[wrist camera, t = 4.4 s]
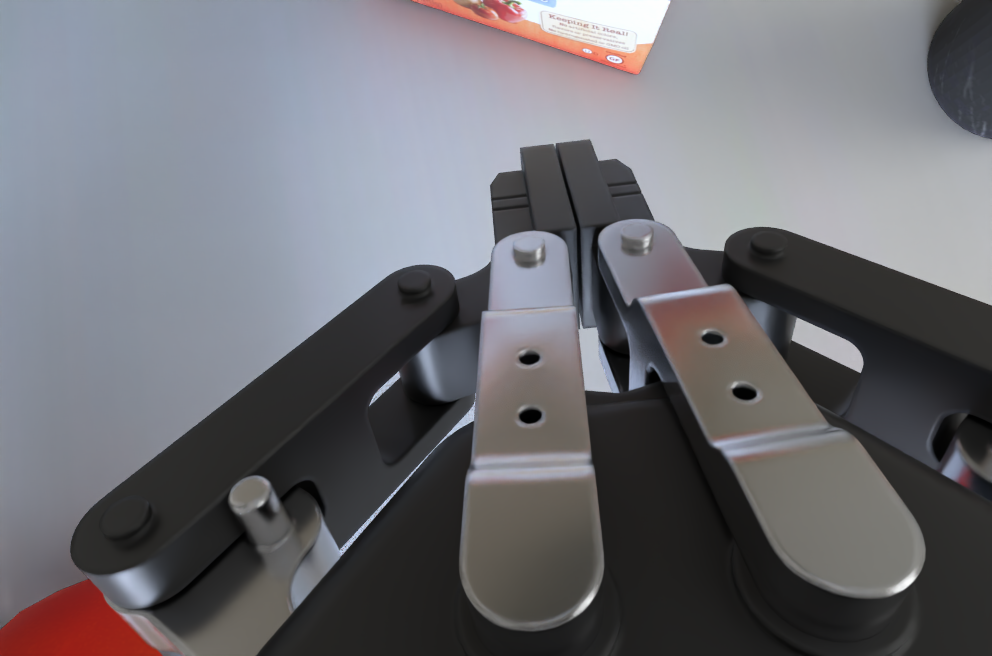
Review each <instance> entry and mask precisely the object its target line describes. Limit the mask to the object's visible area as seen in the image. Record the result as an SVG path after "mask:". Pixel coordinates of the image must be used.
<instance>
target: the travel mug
mask: <svg viewBox="0 0 992 656" xmlns="http://www.w3.org/2000/svg"><path fill="white" fill-rule="evenodd" d="M928 76H929V81H930V85H931V88H932V91H933V93H934V95H935V98H936V100H937V101H938V103H939V104H940V106H941V108H942V109H943V110H944V111H945V112H946V114H947V115H948V116H949V117H950V118H951V119H952V120H953V121H955V122H956V123H957V124H959V125H960V126H961V127H963V128H964V129H966V130H968V131H970V132H972V133H974V134H977V135H979V136H982V137H986V138H990V139H992V0H963V1H962V2H961V3H959V4H958V5H957V6H956V7H955V8H954V9H953V10H952V11H951V12H950V13H949V14H948V15H947V16H946V18H945V19H944V20H943V22H942V23H941V24H940V26H939V28H938V29H937V31H936V33H935V35H934V37H933V40H932V42H931V46H930V49H929V54H928Z"/></svg>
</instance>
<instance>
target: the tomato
mask: <svg viewBox="0 0 992 656" xmlns="http://www.w3.org/2000/svg"><path fill="white" fill-rule="evenodd" d="M0 656H163V655H162V654H161V653H160V652H159V651H158V650H157V649H154V648H152V647H150V646H149V645H147V644H146V643H145V642H144V641H143V640H142V638H141V637H140V636H139V635H138V634H137V633H136V632H135V631H134V630H133V629H132V628H131V627H130V626H129V625H128V624H127V623H126V622H125V621H124V620H123V619H122V618H121V617H120V616H119V615H118V614H117V613H116V612H115V611H114V610H113V609H112V608H111V607H110V606H109V604H108V603H107V602H106V600H105V598H104V596H103V593H102V592H101V591H100V590H99V589H98V588H97V587H96V586H95V585H94V584H93V582H92V581H91V580H90V579H87V580H85V581H82V582H80V583H77V584H75V585H72V586H69V587H67V588H64V589H62V590H59V591H57V592H56V593H54V594H52V595H50V596H48V597H46V598H44V599H43V600H41V601H39V602H37V603H35V604H33V605H32V606H30V607H28V608H26V609H24V610H22V611H21V612H19V613H18V614H17V615H16V616H15V617H14V618H13V619H12V620H10V621H9V622H8V623H7V624H6V625H5V626H4V627H3V628H2V629H1V630H0Z"/></svg>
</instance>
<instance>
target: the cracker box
mask: <svg viewBox="0 0 992 656" xmlns="http://www.w3.org/2000/svg"><path fill="white" fill-rule="evenodd" d="M411 1H414V2H417V3H420V4H423V5H426V6H429V7H432V8H436V9H440V10H443V11H445V12H448V13H451V14H454V15H457V16H460V17H463V18H466V19H469V20H472V21H475V22H478V23H481V24H484V25H487V26H490V27H494V28H497V29H500V30H503V31H506V32H509V33H512V34H515V35H518V36H521V37H524V38H527V39H530V40H533V41H536V42H539V43H542V44H545V45H548V46H551V47H554V48H558V49H560V50H563V51H566V52H569V53H572V54H575V55H578V56H581V57H584V58H588V59H590V60H593V61H596V62H599V63H602V64H605V65H608V66H611V67H614V68H617V69H620V70H624V71H627V72H630V73H633V74H639V73H640V71H641V69H642V67H643V64H644V62H645V60H646V58H647V56H648V54H649V52H650V50H651V48H652V46H653V44H654V41H655V39H656V36H657V34H658V31H659V29H660V26H661V24H662V21H663V19H664V16H665V14H666V12H667V9H668V7H669V5H670V2H671V0H411Z"/></svg>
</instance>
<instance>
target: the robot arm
mask: <svg viewBox="0 0 992 656" xmlns="http://www.w3.org/2000/svg"><path fill="white" fill-rule="evenodd" d="M520 154H521V167H522V170H521V171H512V172H504V173H499V174H498V175H497V176H496V178H495V179H494V181H493V182H492V184H491V185H490V190H491V201H492V213H493V225H494V236H495V246H494V248H493V250H492V253H491V262H490V263H489V264H488V265H487V266H486V267H484V268H483V269H481V270H480V271H478V272H476V273H474V274H472V275H469V276H467V277H464V278H461V279H458V280H455V278H454V277H453V275H452V274H451V273H450V272H449V271H448V270H446V269H444V268H442V267H439V266H434V265H415V266H410V267H406V268H403V269H400V270H398V271H396V272H394V273H392V274H390V275H389V276H387V277H386V278H385V279H383V280H382V281H381V282H380V283H378V284H377V285H376V286H374V287H373V288H372V289H371V290H369V291H368V292H367V293H365V294H364V295H363V296H362V297H360V298H359V299H358V300H356V301H355V302H354V303H353V304H351V305H350V306H349V307H347V308H346V309H345V310H344V311H342V312H341V313H340V314H338V315H337V316H336V317H335V318H333V319H332V320H331V321H329V322H328V323H327V324H326V325H324V326H323V327H322V328H320V329H319V330H318V331H317V332H315V333H314V334H313V335H311V336H310V337H309V338H308V339H306V340H305V341H304V342H302V343H301V344H300V345H299V346H297V347H296V348H295V349H293V350H292V351H291V352H290V353H288V354H287V355H286V356H284V357H283V358H282V359H281V360H279V361H278V362H277V363H275V364H274V365H273V366H272V367H270V368H269V369H268V370H266V371H265V372H264V373H263V374H261V375H260V376H259V377H257V378H256V379H255V380H254V381H252V382H251V383H250V384H248V385H247V386H246V387H245V388H243V389H242V390H241V391H239V392H238V393H237V394H236V395H234V396H233V397H232V398H230V399H229V400H228V401H227V402H225V403H224V404H223V405H221V406H220V407H219V408H218V409H216V410H215V411H214V412H212V413H211V414H210V415H209V416H207V417H206V418H205V419H203V420H202V421H201V422H200V423H198V424H197V425H196V426H194V427H193V428H192V429H191V430H189V431H188V432H187V433H185V434H184V435H183V436H182V437H180V438H179V439H178V440H176V441H175V442H174V443H173V444H171V445H170V446H169V447H167V448H166V449H165V450H164V451H162V452H161V453H160V454H158V455H157V456H156V457H155V458H153V459H152V460H151V461H149V462H148V463H147V464H146V465H144V466H143V467H142V468H140V469H139V470H138V471H137V472H135V473H134V474H133V475H131V476H130V477H129V478H128V479H126V480H125V481H124V482H122V483H121V484H120V485H119V486H117V487H116V488H115V489H113V490H112V491H111V492H110V493H108V494H107V495H106V496H104V497H103V498H102V499H101V500H100V501H98V502H97V503H96V504H95V505H94V506H93V507H92V508H91V509H90V510H89V511H88V512H87V513H86V514H85V516H84V517H83V518H82V519H81V521H80V522H79V524H78V526H77V527H76V529H75V532H74V534H73V536H72V540H71V546H70V553H71V557H72V560H73V562H74V563H75V565H76V566H77V567H78V568H79V569H80V570H81V571H82V572H83V573H84V574H85V575H86V576H87V577H88V578H89V579H90V580H91V581H92V582H93V584H94V585H95V586H96V587H97V588H98V589H99V590H100V591H101V592H102V593H103V596H104V598H105V600H106V602H107V603H108V604H109V606H110V607H111V608H112V609H113V610H114V611H115V612H116V613H117V614H118V615H119V616H120V617H121V618H122V619H123V620H124V621H125V622H126V623H127V624H128V625H129V626H130V627H131V628H132V629H133V630H134V631H135V632H136V633H137V634H138V635H139V636H140V637H141V638H142V640H143V641H144V642H145V643H146V644H147V645H149V646H150V647H152V648H154V649H157V650H158V651H159V652H160V653H161V654H162V655H163V656H992V306H991V305H988V304H986V303H983V302H980V301H977V300H975V299H972V298H969V297H967V296H964V295H961V294H958V293H956V292H953V291H950V290H947V289H945V288H942V287H939V286H937V285H934V284H931V283H928V282H926V281H923V280H920V279H917V278H915V277H912V276H909V275H907V274H904V273H901V272H898V271H896V270H893V269H890V268H887V267H885V266H882V265H879V264H877V263H874V262H871V261H868V260H866V259H863V258H860V257H857V256H855V255H852V254H849V253H847V252H844V251H841V250H838V249H836V248H833V247H830V246H827V245H825V244H822V243H819V242H817V241H814V240H811V239H808V238H806V237H803V236H800V235H797V234H795V233H792V232H789V231H786V230H782V229H778V228H771V227H754V228H747V229H743V230H740V231H738V232H736V233H734V234H732V235H731V236H730V237H729V238H728V239H727V240H726V243H725V248H724V251H712V250H700V249H693V248H688V247H684V246H682V244H681V242H680V241H679V239H678V238H677V236H676V235H675V233H674V232H673V231H672V230H671V229H670V228H669V227H667V226H666V225H664V224H662V223H659V222H656V221H655V220H654V218H653V216H652V214H651V212H650V209H649V207H648V205H647V203H646V201H645V199H644V196H643V194H641V190H640V188H639V185H638V184H637V181H636V179H635V177H634V175H633V172H632V170H631V169H630V168H629V167H627V166H626V165H624V164H623V163H621V162H620V161H618V160H617V159H612V160H604V161H598V159H597V156H596V154H595V151H594V149H593V146H592V143H591V141H590V139H589V140H580V141H572V142H564V143H556V147H554V144H548V145H540V146H531V147H523V148H520ZM579 313H580V317H581V322H582V326H583V329H584V328H593V327H597V330H598V334H599V358H600V361H601V363H602V366H603V369H604V372H605V374H606V377H607V380H608V382H609V385H610V388H611V391H612V393H609V392H596V391H585V388H584V379H583V370H582V360H581V351H580V342H579V332H578V329H580V320H579ZM796 318H800V319H802V320H804V321H806V322H809V323H811V324H813V325H815V326H817V327H820V328H822V329H824V330H826V331H828V332H831V333H833V334H835V335H837V336H840V337H842V338H844V339H846V340H848V341H850V342H851V343H852V344H854V345H855V346H856V347H857V348H858V350H859V351H860V353H861V355H862V357H863V361H864V365H863V369H862V372H861V373H859V372H857V371H855V370H853V369H850V368H848V367H846V366H844V365H842V364H840V363H838V362H836V361H834V360H832V359H829V358H827V357H825V356H823V355H821V354H819V353H817V352H815V351H813V350H811V349H809V348H806V347H804V346H802V345H800V344H798V343H796V342H794V341H792V340H791V339H792V335H793V331H794V327H795V323H796ZM398 371H399V373H400V378H399V379H398V380H397V381H396V382H395V383H394V384H393V385H392V386H391V387H390V388H389V389H387V390H386V391H385V392H384V393H383V394H382V395H381V396H380V397H379V398H378V399H377V400H376V401H375V402H373V403H372V404H371V405H370V402H371V400H372V398H373V396H374V394H375V393H376V392H377V391H378V390H379V388H381V387H382V386H383V385H384V384H385V383H386V382H387V381H388V380H389V379H390V378H391V377H393V376H394V375H395V374H396V373H397V372H398ZM475 393H476V400H475ZM474 401H475V415H474V421H473V422H471V423H469V424H467V425H466V426H464V427H462V428H460V429H459V430H457V431H456V432H454V433H453V434H452V435H450V436H449V437H447V438H446V439H445V440H444V441H443V442H442V443H441V444H439V445H438V443H439V442H440V441H441V440H442V439H443V438H444V437H445V436H446V435H447V434H448V433H449V432H450V431H451V430H452V428H453V427H454V426H455V425H456V424H457V423H458V422H459V421H460V420H461V419H462V418H463V417H464V416H465V414H466V413H467V412H468V411H469V410H470V409H471V407H472V406H473V404H474ZM369 405H370V406H369ZM437 445H438V446H437ZM436 446H437V447H436ZM435 447H436V448H435ZM434 448H435V449H434ZM433 449H434V450H433ZM432 450H433V452H432V453H431V454H430V455H429V456H428V457H427V458H426V459H425V457H426V456H427V455H428V454H429V453H430V452H431V451H432ZM424 459H425V461H424V462H423V463H422V464H421V465H420V466H419V468H418V469H417V470H416V471H415V472H414V473H413V474H412V476H411V477H410V478H409V479H408V480H407V481H406V483H405V484H404V485H403V486H402V487H401V488H400V489H399V491H398V492H397V493H396V494H395V495H394V496H393V497H392V499H391V500H390V501H389V502H388V503H387V504H386V506H385V507H384V508H383V509H382V510H381V511H380V512H379V514H378V515H377V516H376V517H375V518H374V519H373V521H372V522H371V523H370V524H369V525H368V526H367V527H366V529H365V530H364V531H363V532H362V533H361V534H360V535H359V537H358V538H357V539H356V540H355V541H354V542H353V544H352V545H351V546H350V547H349V548H348V549H347V550H346V552H345V553H344V554H343V555H342V556H341V557H340V552H339V550H340V549H341V548H342V547H343V545H344V544H345V543H346V542H347V541H348V540H349V539H350V538H351V537H352V536H353V535H354V534H355V533H356V532H357V530H358V529H359V528H360V527H361V526H362V525H363V524H364V523H365V522H366V521H367V520H368V519H369V518H370V516H371V515H372V514H373V513H374V512H375V511H376V510H377V509H378V508H379V507H380V506H381V505H382V504H383V503H384V501H385V500H386V499H387V498H388V497H389V496H390V495H391V494H392V493H393V492H394V491H395V490H396V489H397V487H398V486H399V485H400V484H401V483H402V482H403V481H404V480H405V479H406V478H407V477H408V476H409V475H410V474H411V472H412V471H413V470H414V469H415V468H416V467H417V466H418V465H419V464H420V463H421V462H422V461H423V460H424Z"/></svg>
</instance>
